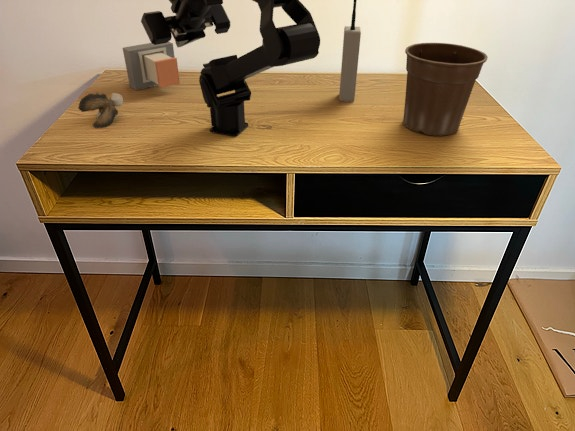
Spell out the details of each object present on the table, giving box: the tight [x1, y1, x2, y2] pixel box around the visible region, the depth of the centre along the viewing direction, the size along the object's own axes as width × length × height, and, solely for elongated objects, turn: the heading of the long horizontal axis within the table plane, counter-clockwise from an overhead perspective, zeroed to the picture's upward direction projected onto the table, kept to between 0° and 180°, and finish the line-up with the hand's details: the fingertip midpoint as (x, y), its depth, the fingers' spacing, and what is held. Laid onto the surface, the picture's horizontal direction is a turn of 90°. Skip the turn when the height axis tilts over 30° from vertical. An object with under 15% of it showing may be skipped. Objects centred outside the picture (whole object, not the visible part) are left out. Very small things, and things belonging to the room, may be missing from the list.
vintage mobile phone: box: [338, 0, 362, 103], centre depth 109 cm, size 4×5×25 cm
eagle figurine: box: [77, 92, 124, 129], centre depth 103 cm, size 8×7×9 cm
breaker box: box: [122, 41, 175, 91], centre depth 121 cm, size 4×12×10 cm, turn 129°
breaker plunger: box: [142, 52, 181, 89], centre depth 118 cm, size 10×5×6 cm, turn 39°
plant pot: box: [402, 42, 489, 137], centre depth 99 cm, size 16×16×16 cm
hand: (178, 45), depth 105 cm, fingers closed
